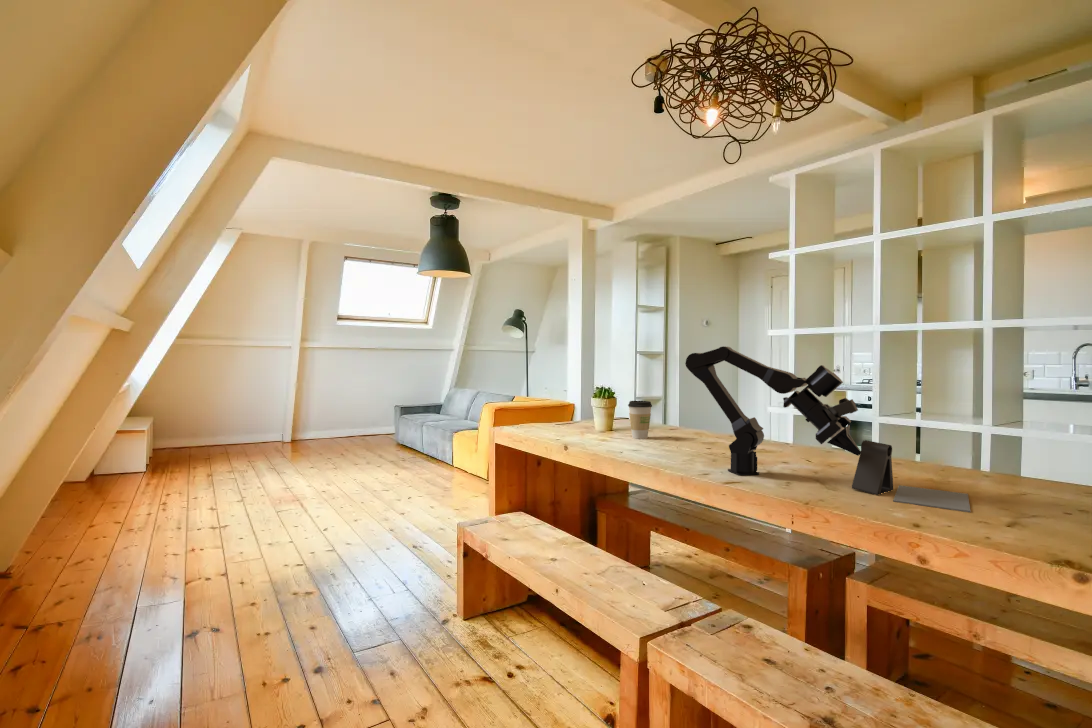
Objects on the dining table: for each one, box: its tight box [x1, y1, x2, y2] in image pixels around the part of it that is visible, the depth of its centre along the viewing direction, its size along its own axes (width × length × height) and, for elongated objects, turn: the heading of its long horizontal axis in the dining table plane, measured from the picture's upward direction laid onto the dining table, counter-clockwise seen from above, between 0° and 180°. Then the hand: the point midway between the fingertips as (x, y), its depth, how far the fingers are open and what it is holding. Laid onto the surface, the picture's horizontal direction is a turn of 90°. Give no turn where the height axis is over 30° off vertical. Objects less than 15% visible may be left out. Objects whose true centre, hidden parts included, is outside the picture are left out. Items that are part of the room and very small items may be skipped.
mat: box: [893, 484, 971, 513], centre depth 126 cm, size 14×18×1 cm
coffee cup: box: [627, 400, 653, 440], centre depth 217 cm, size 10×10×15 cm
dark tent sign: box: [851, 439, 894, 496], centre depth 132 cm, size 9×6×12 cm, turn 124°
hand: (860, 454), depth 134 cm, fingers closed
